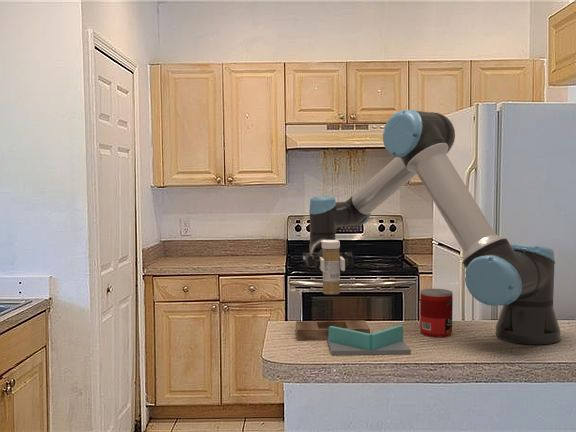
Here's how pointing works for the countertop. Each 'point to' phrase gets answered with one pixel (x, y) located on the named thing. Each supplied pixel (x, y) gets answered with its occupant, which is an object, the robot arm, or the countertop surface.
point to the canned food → (436, 312)
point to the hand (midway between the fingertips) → (333, 265)
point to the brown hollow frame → (326, 328)
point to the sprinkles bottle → (331, 267)
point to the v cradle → (367, 342)
